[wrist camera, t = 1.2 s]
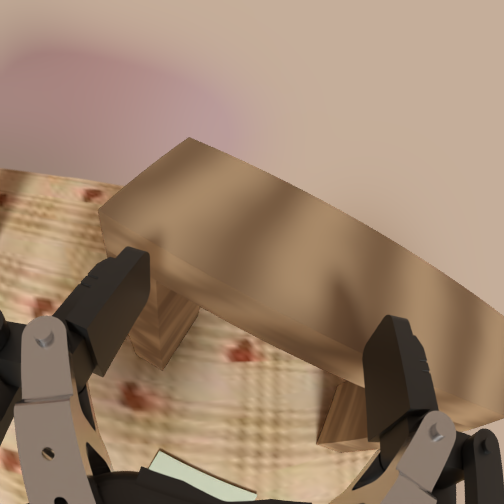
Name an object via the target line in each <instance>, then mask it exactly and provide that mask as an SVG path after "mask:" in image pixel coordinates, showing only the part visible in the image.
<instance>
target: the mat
mask: <svg viewBox="0 0 504 504" xmlns="http://www.w3.org/2000/svg"><path fill="white" fill-rule="evenodd" d="M149 469H150V470H153V471H155V472H158V473H161V474H164V475H167V476H170V477H173V478H176V479H180V480H183V481H185V482H187V483H188V484H190V485H192V486H194V487H196V488H198V489H200V490H202V491H204V492H206V493H208V494H210V495H212V496H214V497H216V498H218V499H220V500H223V501H229V502H233V501H254V500H255V498H256V497H257V494H254V493H251V492H249V491H246V490H243V489H241V488H238V487H235V486H233V485H230V484H228V483H225V482H223V481H221V480H218V479H216V478H214V477H211V476H209V475H207V474H205V473H202V472H200V471H198V470H196V469H194V468H192V467H190V466H188V465H186V464H184V463H182V462H180V461H178V460H176V459H174V458H172V457H170V456H168V455H167V454H165V453H163V452H161V451H159V452H158V454H157V456H156V457H155V459H154V461H153V462H152V464H151V466H150V467H149Z"/></svg>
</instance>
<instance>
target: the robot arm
mask: <svg viewBox="0 0 504 504" xmlns="http://www.w3.org/2000/svg"><path fill="white" fill-rule="evenodd" d="M149 294H150V255H149V253H148V252H146V251H143V250H140V249H136V248H133V247H129V246H127V247H125V248H124V249H123V250H122V251H121V253H120V254H119V255H118V256H117V257H116V258H113V257H109V258H107V259H105V260H103V261H101V262H100V263H98V264H96V266H95V267H94V268H93V269H92V270H91V271H90V272H89V273H88V276H86V277H85V278H84V279H83V280H82V281H81V284H79V285H78V286H77V287H76V288H75V289H74V290H73V292H72V293H71V294H70V295H69V296H68V298H67V299H66V300H65V301H64V302H63V303H62V305H61V306H60V307H59V308H58V310H57V311H56V312H55V313H54V314H53V315H52V316H41V317H38V318H35V319H33V320H32V321H31V322H29V323H28V324H27V325H26V324H20V323H14V322H8V321H6V320H5V318H4V316H3V314H2V312H1V310H0V445H1V443H2V441H3V439H4V436H5V434H6V432H7V430H8V428H9V426H10V424H11V421H12V419H13V417H14V422H15V431H16V440H17V447H18V453H19V459H20V465H21V470H22V475H23V480H24V484H25V488H26V492H27V496H28V500H29V503H28V504H312V503H307V502H293V501H283V500H274V499H268V500H255V501H233V502H229V501H223V500H220V499H218V498H216V497H214V496H212V495H210V494H208V493H206V492H204V491H202V490H200V489H198V488H196V487H194V486H192V485H190V484H188V483H187V482H185V481H183V480H180V479H176V478H173V477H170V476H167V475H164V474H161V473H158V472H155V471H153V470H150V469H147V468H144V467H142V466H141V469H140V471H139V472H134V471H115V472H114V470H113V467H112V464H111V461H110V458H109V455H108V452H107V450H106V447H105V445H104V443H103V441H102V438H101V436H100V433H99V429H98V425H97V421H96V417H95V413H94V409H93V404H92V400H91V395H90V390H89V385H88V379H89V377H90V376H91V374H92V372H93V373H95V374H97V375H99V376H101V377H104V375H105V373H106V371H107V370H108V368H109V366H110V364H111V362H112V361H113V359H114V357H115V355H116V354H117V352H118V350H119V348H120V347H121V345H122V343H123V342H124V340H125V338H126V336H127V335H128V333H129V331H130V330H131V328H132V326H133V325H134V323H135V321H136V320H137V318H138V316H139V315H140V313H141V312H142V310H143V308H144V307H145V305H146V303H147V301H148V298H149ZM362 363H363V373H364V385H365V398H366V414H367V436H368V442H380V449H378V450H377V451H376V452H375V454H374V455H373V456H372V458H371V459H370V460H369V462H368V463H367V464H366V466H365V467H364V468H363V469H362V471H361V472H360V473H359V474H358V476H357V477H356V478H355V479H354V481H353V482H352V483H351V484H350V485H349V487H348V488H347V489H346V490H345V491H344V492H343V493H342V494H340V495H339V496H338V497H336V498H335V499H333V500H332V501H331V502H330V503H329V504H456V483H459V482H460V481H462V480H464V482H465V504H504V482H503V471H502V463H501V455H500V448H499V443H498V440H497V438H496V436H495V434H494V433H493V432H491V431H490V430H488V429H481V430H479V431H478V432H476V433H475V434H473V435H472V436H470V435H467V434H464V433H462V432H459V431H456V429H455V425H454V423H453V421H452V420H451V418H450V417H449V416H448V415H447V414H445V413H443V412H441V411H439V409H438V404H437V399H436V395H435V390H434V386H433V381H432V377H431V373H429V371H430V369H429V365H428V363H427V358H426V354H425V351H424V347H423V346H422V344H421V343H420V341H419V340H418V338H417V337H416V336H415V335H413V333H412V330H411V326H410V323H409V321H408V319H406V318H402V317H397V316H393V315H386V316H385V317H384V318H383V319H382V321H381V322H380V324H379V325H378V327H377V328H376V330H375V331H374V333H373V334H372V336H371V337H370V339H369V340H368V342H367V343H366V345H365V347H364V350H363V355H362Z"/></svg>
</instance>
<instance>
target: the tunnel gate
mask: <svg viewBox="0 0 504 504" xmlns="http://www.w3.org/2000/svg"><path fill="white" fill-rule="evenodd" d="M98 214H99V219H100V225H101V230H102V235H103V239H104V244H105V249H106V253H107V257H108V258H109V257H113V258H116V257H117V256H118V255H119V254H120V253H121V251H122V250H123V249H124V248H125V247H127V246H129V247H133V248H136V249H140V250H143V251H146V252H148V253H149V255H150V294H149V298H148V301H147V303H146V305H145V307H144V308H143V310H142V312H141V313H140V315H139V316H138V318H137V320H136V321H135V323H134V325H133V326H132V328H131V330H130V331H129V336H130V339H131V342H132V344H133V347H134V350H135V353H136V354H137V355H138V356H140V357H141V358H143V359H144V360H146V361H148V362H149V363H151V364H152V365H154V366H156V367H157V368H159V369H160V370H162V371H163V370H164V368H165V366H166V365H167V363H168V362H169V360H170V358H171V357H172V355H173V354H174V352H175V351H176V349H177V347H178V346H179V344H180V343H181V341H182V340H183V338H184V336H185V335H186V333H187V332H188V330H189V329H190V327H191V326H192V324H193V322H194V321H195V319H196V318H197V316H198V313H199V309H200V307H202V308H204V309H205V310H207V311H209V312H211V313H213V314H214V315H216V316H218V317H220V318H222V319H223V320H225V321H227V322H229V323H231V324H233V325H235V326H236V327H238V328H240V329H242V330H244V331H246V332H248V333H250V334H252V335H253V336H255V337H257V338H259V339H261V340H263V341H265V342H267V343H269V344H271V345H273V346H275V347H277V348H279V349H281V350H283V351H285V352H287V353H289V354H291V355H293V356H295V357H297V358H299V359H301V360H304V361H306V362H308V363H310V364H312V365H314V366H316V367H318V368H321V369H323V370H325V371H327V372H329V373H332V374H334V375H336V376H338V377H340V378H343V379H345V380H347V381H346V382H344V383H342V384H340V385H338V386H337V389H336V392H335V395H334V398H333V401H332V404H331V407H330V410H329V412H328V415H327V418H326V421H325V423H324V426H323V429H322V431H321V434H320V437H319V439H318V442H317V445H320V446H323V447H326V448H329V449H332V450H335V451H338V452H341V453H343V452H355V451H365V450H374V449H380V442H368V436H367V414H366V398H365V385H364V373H363V363H362V355H363V350H364V347H365V345H366V343H367V342H368V340H369V339H370V337H371V336H372V334H373V333H374V331H375V330H376V328H377V327H378V325H379V324H380V322H381V321H382V319H383V318H384V317H385V316H386V315H393V316H397V317H402V318H406V319H408V321H409V323H410V326H411V330H412V333H413V335H415V336H416V337H417V338H418V340H419V341H420V343H421V344H422V346H423V347H424V351H425V354H426V358H427V363H428V365H429V369H430V371H429V373H431V377H432V381H433V386H434V390H435V395H436V399H437V404H438V409H439V411H441V412H443V413H445V414H447V415H448V416H449V417H450V418H451V420H452V421H453V423H454V425H455V429H456V431H459V432H463V431H467V430H470V429H474V428H477V427H480V426H483V425H486V424H489V423H492V422H495V421H497V420H500V419H503V418H504V316H503V315H502V314H500V313H499V312H498V311H496V310H495V309H494V308H492V307H491V306H490V305H488V304H487V303H485V302H484V301H483V300H481V299H480V298H479V297H477V296H476V295H474V294H473V293H472V292H470V291H469V290H467V289H466V288H464V287H463V286H462V285H460V284H459V283H457V282H456V281H454V280H453V279H451V278H450V277H449V276H447V275H445V274H444V273H443V272H441V271H440V270H438V269H437V268H435V267H434V266H432V265H431V264H429V263H427V262H426V261H424V260H423V259H421V258H420V257H418V256H417V255H415V254H413V253H412V252H410V251H408V250H407V249H405V248H404V247H402V246H400V245H399V244H397V243H396V242H394V241H392V240H391V239H389V238H387V237H386V236H384V235H382V234H381V233H379V232H377V231H376V230H374V229H372V228H370V227H369V226H367V225H365V224H364V223H362V222H360V221H358V220H356V219H355V218H353V217H351V216H349V215H348V214H346V213H344V212H342V211H340V210H339V209H337V208H335V207H333V206H331V205H330V204H328V203H326V202H324V201H322V200H320V199H318V198H316V197H314V196H312V195H311V194H309V193H307V192H305V191H303V190H301V189H299V188H297V187H295V186H293V185H291V184H289V183H287V182H285V181H283V180H281V179H279V178H277V177H275V176H273V175H271V174H269V173H267V172H265V171H263V170H261V169H259V168H257V167H255V166H252V165H250V164H248V163H246V162H244V161H242V160H239V159H237V158H235V157H233V156H231V155H229V154H227V153H224V152H222V151H220V150H218V149H215V148H213V147H211V146H208V145H206V144H204V143H202V142H199V141H197V140H194V139H192V138H190V137H189V138H187V139H186V140H184V141H183V142H182V143H180V144H179V145H177V146H176V147H175V148H173V149H172V150H171V151H169V152H168V153H167V154H165V155H164V156H162V157H161V158H160V159H159V160H157V161H156V162H155V163H153V164H152V165H151V166H149V167H148V168H147V169H146V170H144V171H143V172H142V173H141V174H139V175H138V176H137V177H136V178H135V179H133V180H132V181H131V182H129V183H128V184H127V185H126V186H125V187H123V188H122V189H121V190H120V191H119V192H118V193H116V194H115V195H114V196H113V197H112V198H111V199H109V200H108V201H107V202H106V203H105V204H104V205H103V206H102V207H100V208H99V209H98Z"/></svg>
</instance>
